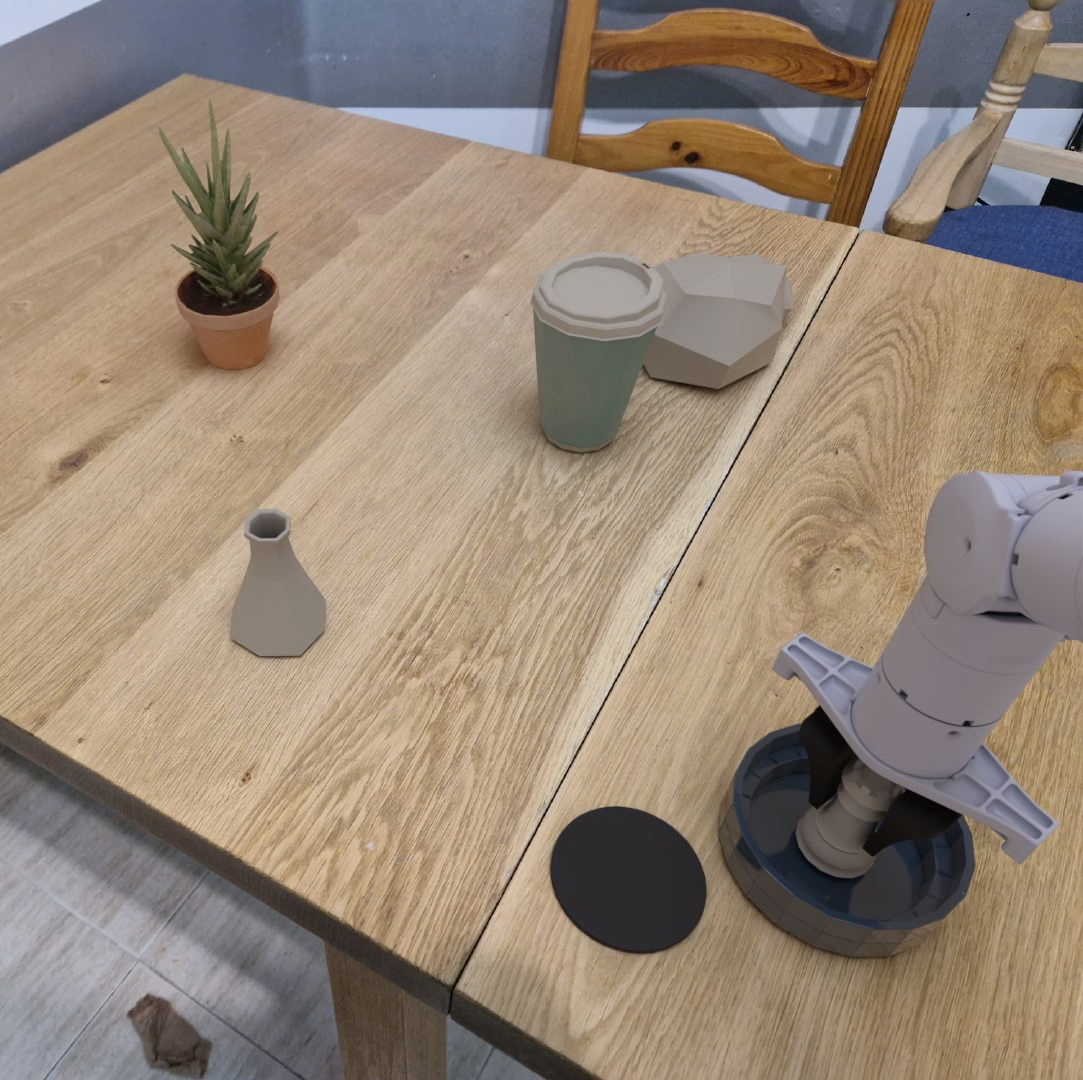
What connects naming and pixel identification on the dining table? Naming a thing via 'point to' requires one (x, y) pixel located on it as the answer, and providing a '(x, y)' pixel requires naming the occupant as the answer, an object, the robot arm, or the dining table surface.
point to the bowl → (815, 896)
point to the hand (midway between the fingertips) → (850, 819)
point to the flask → (275, 592)
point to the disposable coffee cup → (592, 343)
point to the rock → (718, 318)
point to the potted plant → (224, 265)
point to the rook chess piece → (847, 822)
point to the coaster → (628, 879)
